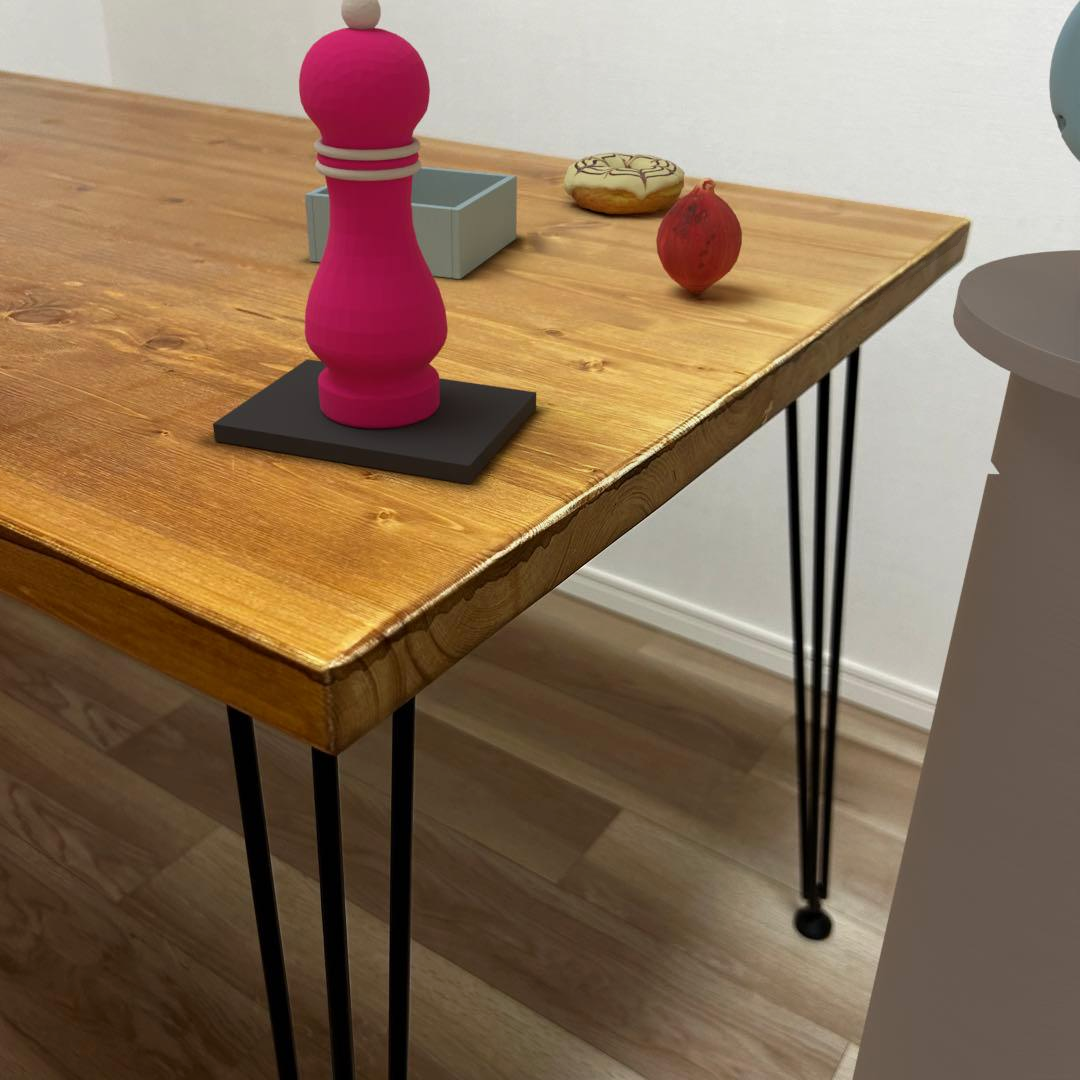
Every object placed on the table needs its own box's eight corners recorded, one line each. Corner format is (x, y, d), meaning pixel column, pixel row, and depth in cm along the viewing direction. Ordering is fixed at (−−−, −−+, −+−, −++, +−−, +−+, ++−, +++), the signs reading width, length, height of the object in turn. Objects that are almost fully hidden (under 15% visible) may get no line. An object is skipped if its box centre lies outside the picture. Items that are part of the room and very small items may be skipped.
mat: (536, 409, 66) (536, 391, 65) (469, 484, 57) (469, 465, 57) (308, 375, 69) (307, 358, 69) (214, 441, 61) (212, 423, 60)
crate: (516, 238, 97) (517, 175, 94) (460, 279, 86) (459, 209, 84) (379, 223, 100) (376, 162, 97) (309, 261, 90) (304, 193, 87)
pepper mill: (436, 376, 67) (426, -17, 57) (461, 427, 61) (455, -4, 51) (305, 386, 65) (272, -17, 55) (317, 439, 59) (283, -4, 49)
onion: (709, 312, 81) (719, 192, 77) (637, 295, 84) (644, 179, 80) (750, 292, 85) (762, 177, 81) (680, 277, 88) (689, 165, 84)
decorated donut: (545, 209, 105) (545, 165, 103) (593, 185, 114) (594, 144, 112) (655, 223, 101) (658, 178, 100) (696, 198, 110) (700, 155, 108)
